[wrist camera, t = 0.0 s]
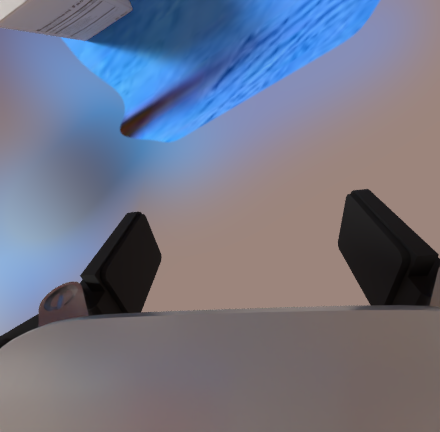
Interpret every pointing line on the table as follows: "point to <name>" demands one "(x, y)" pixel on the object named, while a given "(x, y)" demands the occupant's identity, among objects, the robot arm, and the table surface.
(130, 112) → the table surface
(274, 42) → the table surface
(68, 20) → the supplement box
